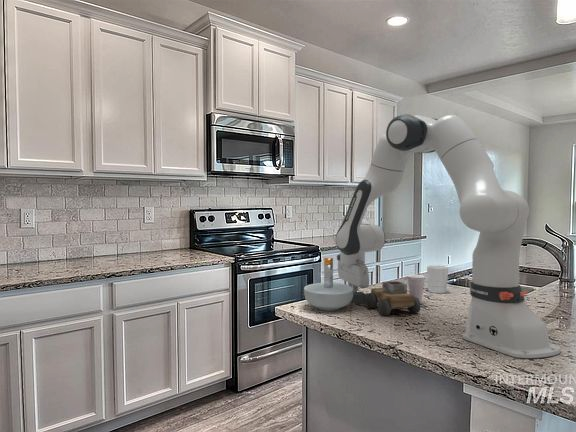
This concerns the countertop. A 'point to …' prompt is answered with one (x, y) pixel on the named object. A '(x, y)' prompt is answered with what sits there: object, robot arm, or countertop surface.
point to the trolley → (392, 298)
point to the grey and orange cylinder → (328, 272)
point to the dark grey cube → (358, 298)
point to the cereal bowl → (328, 296)
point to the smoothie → (416, 284)
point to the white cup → (437, 278)
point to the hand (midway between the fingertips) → (353, 295)
